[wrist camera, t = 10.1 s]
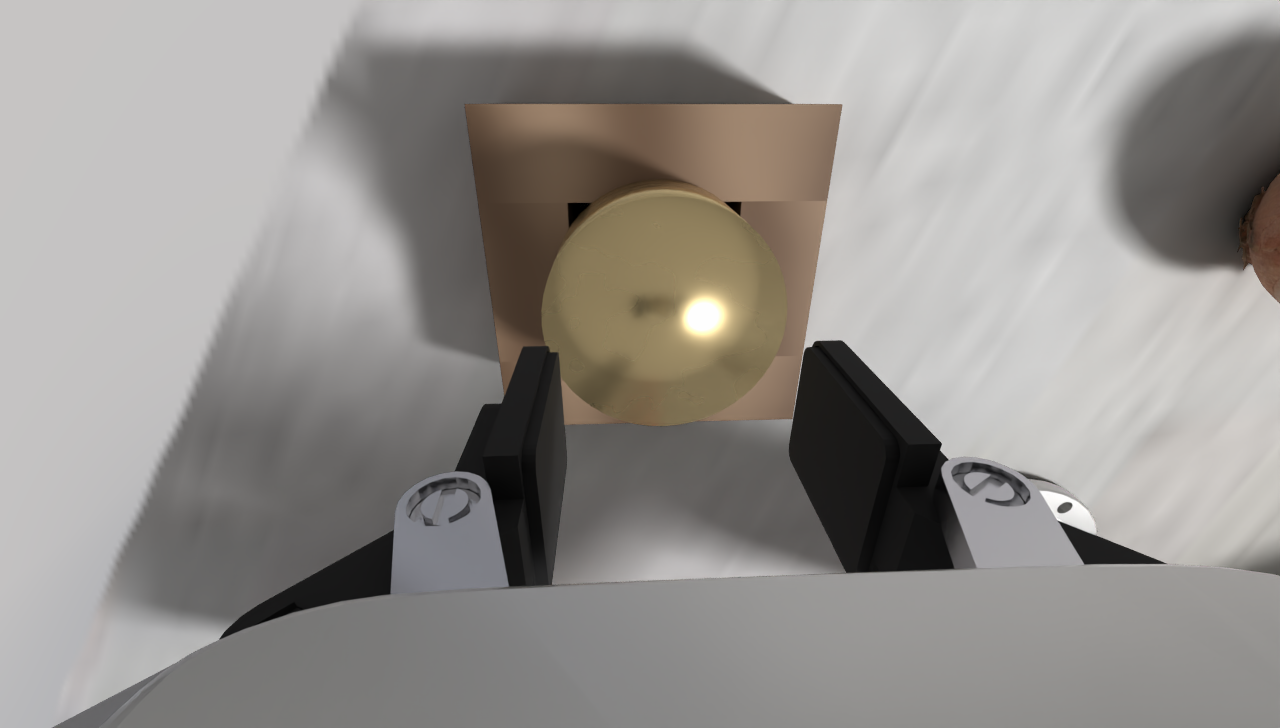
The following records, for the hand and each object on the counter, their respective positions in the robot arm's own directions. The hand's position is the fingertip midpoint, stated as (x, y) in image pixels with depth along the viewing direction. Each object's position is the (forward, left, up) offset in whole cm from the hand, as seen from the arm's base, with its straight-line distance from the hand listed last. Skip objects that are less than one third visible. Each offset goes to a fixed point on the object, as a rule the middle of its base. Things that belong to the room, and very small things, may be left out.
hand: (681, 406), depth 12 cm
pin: (0, 0, -13) cm, 13 cm away
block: (0, 0, -13) cm, 13 cm away
